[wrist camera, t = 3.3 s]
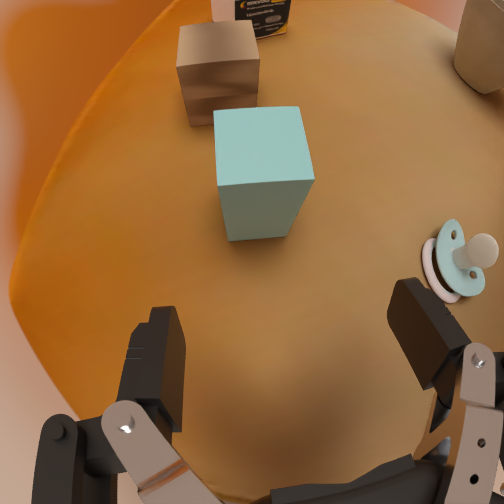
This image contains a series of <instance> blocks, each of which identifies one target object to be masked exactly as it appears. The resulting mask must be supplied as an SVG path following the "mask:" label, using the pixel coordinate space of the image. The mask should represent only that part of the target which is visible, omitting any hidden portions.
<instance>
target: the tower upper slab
mask: <svg viewBox="0 0 504 504" xmlns="http://www.w3.org/2000/svg"><path fill="white" fill-rule="evenodd" d="M259 65H260V57H259V52H258V48H257V43H256V39H255V34H254V30H253V25H252V21H251V20H237V21H222V22H211V23H201V24H193V25H186V26H180V35H179V43H178V53H177V63H176V68H177V73H178V77H179V81H180V85H181V89H182V94H183V98H184V101H186V100H193V99H201V98H210V97H220V96H232V95H246V94H258V80H259Z"/></svg>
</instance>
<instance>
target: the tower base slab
mask: <svg viewBox="0 0 504 504" xmlns="http://www.w3.org/2000/svg"><path fill="white" fill-rule="evenodd" d="M184 102H185V106H186V110H187V114H188V118H189V122H190V126H191V127H192V126H201V125H210V124H214V111H216V110H227V109H240V108H256V104H257V94H246V95H232V96H220V97H210V98H201V99H193V100H186V101H184Z"/></svg>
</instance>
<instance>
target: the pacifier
mask: <svg viewBox="0 0 504 504" xmlns="http://www.w3.org/2000/svg"><path fill="white" fill-rule="evenodd" d="M452 231H454V233H455V238H454V240H453V239H452V238H451V233H452ZM434 247H436V259H437V264H438V268H439V270H440V273H441V275H442V277H443V279H444V280H445V282H446V283H447V284H448V286H449V287H450V288H451V289H452V290H454V292H453V293H450V292H448V291H446V290H445V289H444V288H443V287H442V286H441V284H440V283H439V281H438V279H437V278H436V275H435V273H434V270H433V266H432V259H431V257H432V250H433V248H434ZM498 253H499V248H498V244H497V242H496V240H495V239H494V238H493V237H492V236H490V235H488V234H485V233H481V234H477V235H475V236H473V237H472V238H471V239H470V240H469V242H468V244H466V245H465V241H464V235H463V231H462V228H461V226H460V224H459V223H458V221H456V220H455V219H450V220H448V221H447V222H446V223H445V224H444V225H443V226H442V228H441V229H440V232H439V234H438V237H437V239H436V238H431V239H428V240H427V241H426V243H425V244H424V247H423V251H422V261H423V267H424V271H425V275H426V277H427V279H428V282H429V284H430V286H431V287H432V289H433V291H434V292H435V293H436V294H437V295H438V296H439V298H441V299H442V300H443V301H445V302H447V303H454V302H456V301H458V299H459V298H460V296H461V295H462V296H475V295H478V294H479V293H481V292H482V291H483V289H484V286H485V277H484V274H483V271H482V269H481V268H483V269H484V268H489V267H491V266H492V265H493V264H494V263H495V262H496V260H497V258H498ZM470 271H472V272H474V274H475V279H472V278H471V277H470Z"/></svg>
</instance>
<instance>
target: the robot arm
mask: <svg viewBox="0 0 504 504" xmlns="http://www.w3.org/2000/svg"><path fill="white" fill-rule="evenodd" d="M387 319H388V323H389V326H390V328H391V329H392V331H393V333H394V335H395V337H396V338H397V340H398V342H399V344H400V346H401V348H402V350H403V351H404V353H405V355H406V357H407V359H408V361H409V363H410V365H411V367H412V369H413V371H414V373H415V375H416V377H417V379H418V381H419V383H420V385H421V387H422V389H423V391H424V390H427V389H429V388H432V387H434V388H435V390H436V392H435V393H434V395H433V399H432V404H431V408H430V412H429V417H428V421H427V425H426V429H425V432H424V436H423V438H422V440H421V442H420V444H419V445H418V447H417V449H416V451H415V453H414V455H413V457H412V455H411V454H409V455H406V456H404V457H401V458H398V459H396V460H393V461H390V462H387V463H384V464H381V465H380V466H378V467H376V468H375V469H373V470H371V471H370V472H368V473H366V474H365V475H363V476H361V477H359V478H357V479H356V480H354V481H352V482H350V483H346V484H304V485H299V486H293V487H286V488H279V489H272V490H270V495H268V496H265V497H262V498H260V499H258V500H256V501H254V502H252V503H250V504H504V497H503V496H501V495H499V494H497V493H495V492H493V491H492V490H493V486H494V481H495V476H496V471H497V466H498V459H499V458H500V461H501V464H502V467H503V470H504V352H492V351H491V350H490V349H489V348H488V347H487V346H485V345H483V344H481V343H472V342H471V341H470V339H469V338H468V336H467V335H466V333H465V332H464V330H463V329H462V328H461V326H460V325H459V323H458V322H457V321H456V319H455V318H454V316H453V315H451V312H450V311H449V310H448V308H447V307H445V304H444V303H443V302H442V300H441V299H440V298H439V296H438V295H436V294H435V293H434V292H432V291H431V290H429V289H428V288H427V289H426V288H425V287H424V286H423V284H422V283H421V282H420V280H419V279H418V278H416V277H413V278H407V279H401V280H398V281H397V282H396V284H395V287H394V290H393V294H392V297H391V300H390V304H389V307H388V310H387ZM128 348H129V349H128V350H127V354H126V360H125V363H124V367H123V372H122V376H121V381H120V386H119V391H118V396H117V399H116V402H115V403H113V404H112V405H110V406H109V407H108V408H107V409H106V410H105V412H104V414H103V415H101V416H99V417H95V418H91V419H86V420H81V421H77V422H75V421H74V420H73V419H72V418H71V417H69V416H68V415H65V414H57V415H53V416H51V417H50V418H49V419H47V421H46V422H45V423H44V425H43V427H42V430H41V435H40V441H39V446H38V452H37V459H36V465H35V472H34V481H33V490H32V502H31V504H117V476H118V473H123V472H128V473H129V475H130V476H131V478H132V479H133V481H134V482H135V484H136V485H137V487H138V495H139V497H140V499H141V500H142V502H143V503H144V504H225V503H224V502H223V501H222V500H221V499H220V498H219V497H218V496H217V495H216V494H215V493H214V492H213V491H212V490H211V489H210V488H209V487H208V486H207V485H206V484H205V483H204V482H203V481H202V479H201V478H200V477H199V476H198V475H197V474H196V473H195V472H194V471H193V470H192V468H191V467H190V466H189V465H188V464H187V463H186V462H185V460H184V459H183V458H182V457H181V456H180V454H179V453H178V452H177V451H176V450H175V448H174V447H173V446H172V432H182V407H183V387H184V370H185V355H186V345H185V338H184V334H183V331H182V328H181V325H180V321H179V318H178V315H177V311H176V308H175V307H174V306H163V307H153V308H152V309H151V313H150V318H149V322H148V323H139V325H138V326H137V327H136V329H135V330H134V331H133V333H132V334H131V337H130V342H129V346H128ZM500 492H501V494H503V495H504V483H503V484H502V486H501V488H500Z"/></svg>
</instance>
